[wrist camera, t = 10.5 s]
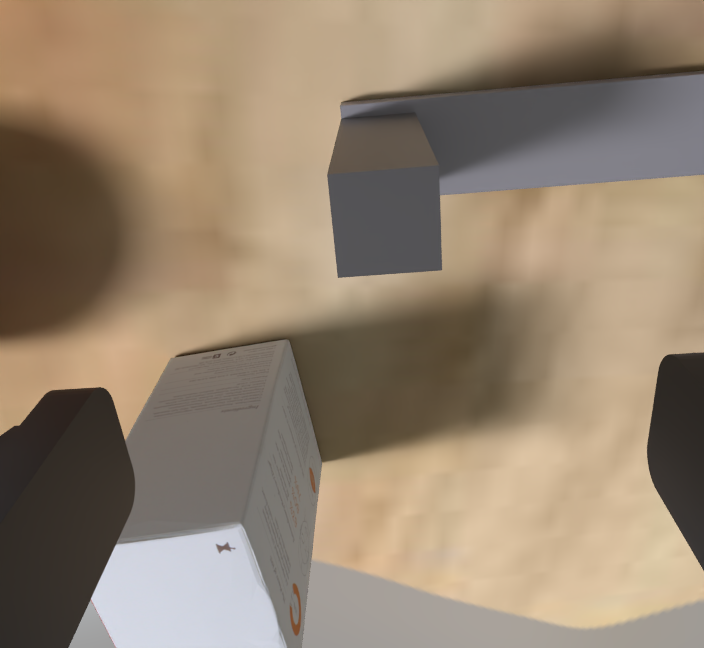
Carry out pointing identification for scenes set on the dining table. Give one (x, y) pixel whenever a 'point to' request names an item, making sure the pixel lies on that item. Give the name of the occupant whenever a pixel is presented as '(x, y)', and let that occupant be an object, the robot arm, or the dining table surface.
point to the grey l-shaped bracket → (496, 155)
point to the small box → (217, 507)
